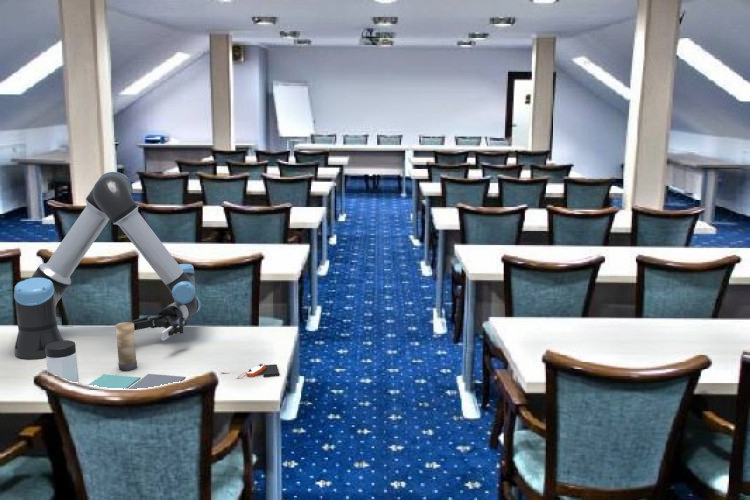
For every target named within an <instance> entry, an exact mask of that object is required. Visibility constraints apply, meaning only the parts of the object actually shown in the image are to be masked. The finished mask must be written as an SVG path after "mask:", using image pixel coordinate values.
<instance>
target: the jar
mask: <svg viewBox="0 0 750 500" xmlns="http://www.w3.org/2000/svg"><path fill="white" fill-rule="evenodd" d="M76 347H77V345H76V342H75V341H73V340H68V339H67V340H65V339H63V340H61V341H55V342H52V343H49V344H47V345H46V346H45V352H46V357H45V359H46V369H47V370H46V371H47V372H48V371H49V372H51V373H53V374H55V375H57V376H60V377H62V378H65V379H67V380H69V381H72V382H78V383H79V369H78V358H77V349H76Z"/></svg>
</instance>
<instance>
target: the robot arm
mask: <svg viewBox="0 0 750 500" xmlns="http://www.w3.org/2000/svg"><path fill="white" fill-rule="evenodd" d="M133 192H134V188H133V185H132V181H131V180H130V179H129V178H128V176H127V175H125V174H124V173H121V172H118V171H108V172H106V173H103V174H102V175H101V176H100V177H99V178H98V180H97V181H96V183H95V184H94V185H93V187H92V189H91V191H90V192H89V193H88V195H87V197H86V198H85V207H84V208H83V210H82V211H81V213H80V214H79V216H78V217H77V219H76V220H75V222H74V223H73V225H72V226H71V227H70V229H69V230H68V232H67V233H66V235H65V236H64V238H63V239H62V241H61V242H60V244H59V245H58V247H57V248H56V249H55V251H54V252H53V253H52V255H51V256H50V258H49V259H48V261H47V262H46V263H40V264H39V265H38V267H37V268H36V269H35V271H34V272H33V274H32V275H31V277H30V278H26V279H24V280H21V281H19V282H17V283H16V285H15V286H14V292H13V298H14V302H15V303H14V304H15V312H16V321H17V328H18V329H17V330H18V333H17V337H16V340H15V345H14V356H15V357H16V358H18V359H24V360H38V359H46V352H45V346H46V345H47V344H49V343H52V342H55V341H61V340H64V338H63V336H62V333H61V331H60V329H59V327H58V320H57V319H58V318H57V310H56V307H57V304H58V302H59V301H60V300H61V298H62V297H63V295H64V294H65V292H66V291H67V290H68V288H69V287H70V285H71V284H72V279H71V276H72V274H73V272H74V271H75V270H76V268H77V267H78V266H79V265H80V262H81V261H82V260H83V258H84V257H85V255H86V254H87V252H88V251H89V250H90V248H91V246H92V245H93V244H94V242H95V241H96V239H97V238H98V237H99V236H100V234H101V232H102V231H103V229H104V228H105V227H106V225H107V224H108V222H109V221H111V223H112V224H113V225H117V226H119V228H120V229H121V230H122V232H123V233H124V234H125V235H126V238H128V240H130V242H131V243H132V244H133V246H134V247H135V248H136V249H137V250H138V252H139V253H140V255H141V256H142V257H143V258H144V260H145V261H146V262H147V263H148V264H149V266H150V267H151V269H152V270H153V271H154V272H155V273H156V275H157V276H158V277H159V278H160V279H161V281H162V282H163V284H164V285H165V286H166V288H167V289H168V291H169V292H170V293H171V297H172V298H173V301H174V302H173V303H170V304H169V305H167V306H166V307H164V308H162V309H161V310H160V311H159V313H158V314H157V315H156V316H152V317H151V315H146V316H144V317H141V318H137V319H133V320H130V321H128V322H132V323H133V324H134V333H135V332H136V331H139V330H144V329H149V328H150V329H156V328H163V329H164V330H163V331H161V332H160V337H161V341H162V342H164V341H166V340H168V339H169V338H170V337H172V336H174V335H177V334H178V333H179V334H180V335H182V334H184V327H185V326H186V321H187V320H188V319H190V318H192V317H193V316H195V315H196V314H197V313H198V312H199V311H200V309H201V306H202V305H201V304H202V303H201V300H200V299H199V297H198V296H197V295H196V291H197V290H196V279H195V273H196V272H195V268H194V266H193V264H190V263H178V262H177V260H176V259H175V258H174V256H173V255H172V254H171V253H170V251H169V250H168V249H167V248H166V246H165V245H164V244H163V242H162V241H161V240H160V238H159V237H158V236H157V235H156V233H155V232H154V231H153V230H152V228H151V227H150V226H149V224H148V223H147V222H146V220H145V219H144V217H143V215H141V213H140V212H139V206H138V204H137V203H136V202H135V200H134V199H133V196H132V195H133V194H134V193H133Z"/></svg>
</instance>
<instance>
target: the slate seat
mask: <svg viewBox="0 0 750 500" xmlns="http://www.w3.org/2000/svg"><path fill="white" fill-rule="evenodd" d="M185 379H186V376H182V375H170V374H169V375H166V374H155V373H147V374H145V376H144V377H142V378H140V379H139V380H138V381H136V382H135V383H134V384H132V385H131V386H130V387H128V389H137V388H148V387H154V386H160V385H161V384H162V385H164V384H168V383H173V382H179V381H181V382H182V380H183V381H184V380H185Z"/></svg>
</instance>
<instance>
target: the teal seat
mask: <svg viewBox="0 0 750 500" xmlns="http://www.w3.org/2000/svg"><path fill="white" fill-rule="evenodd" d="M139 380H141V376H130V375H129V376H128V375H116V374H106V373H105V374H102V375H100V376H99V377H97V378H96V379H94V380H93V381H92V382H90V383H89V384H87V385H93V386H94V385H97V386H99V387H107V388H123V389H124V388H127V389H129V388H130V387H131V386H133V385H134V384H135V383H137V382H138V381H139Z"/></svg>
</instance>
